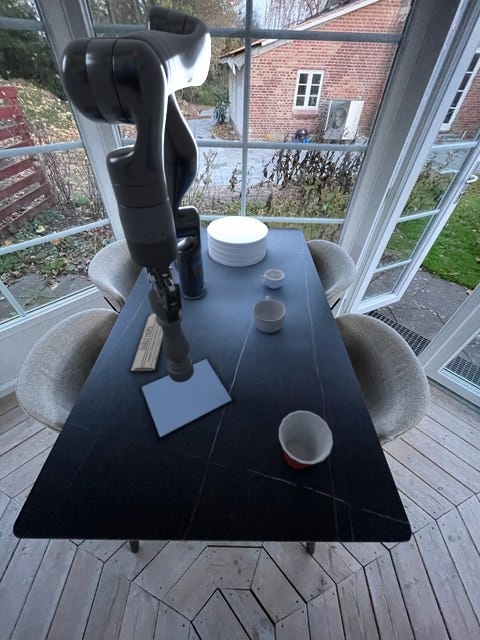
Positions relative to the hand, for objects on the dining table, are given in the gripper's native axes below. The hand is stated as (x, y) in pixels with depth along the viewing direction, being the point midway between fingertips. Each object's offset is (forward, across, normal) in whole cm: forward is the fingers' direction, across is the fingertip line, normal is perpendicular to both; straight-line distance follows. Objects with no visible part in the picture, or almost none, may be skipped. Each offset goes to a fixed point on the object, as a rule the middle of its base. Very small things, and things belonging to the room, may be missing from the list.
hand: (168, 311), depth 52 cm
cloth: (+31, 0, 0) cm, 31 cm away
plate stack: (+31, +61, -52) cm, 86 cm away
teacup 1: (+31, +30, -50) cm, 66 cm away
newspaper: (+31, +24, +2) cm, 39 cm away
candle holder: (+21, 0, 0) cm, 21 cm away
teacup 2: (+31, +12, -36) cm, 49 cm away
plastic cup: (+31, -28, -16) cm, 45 cm away
